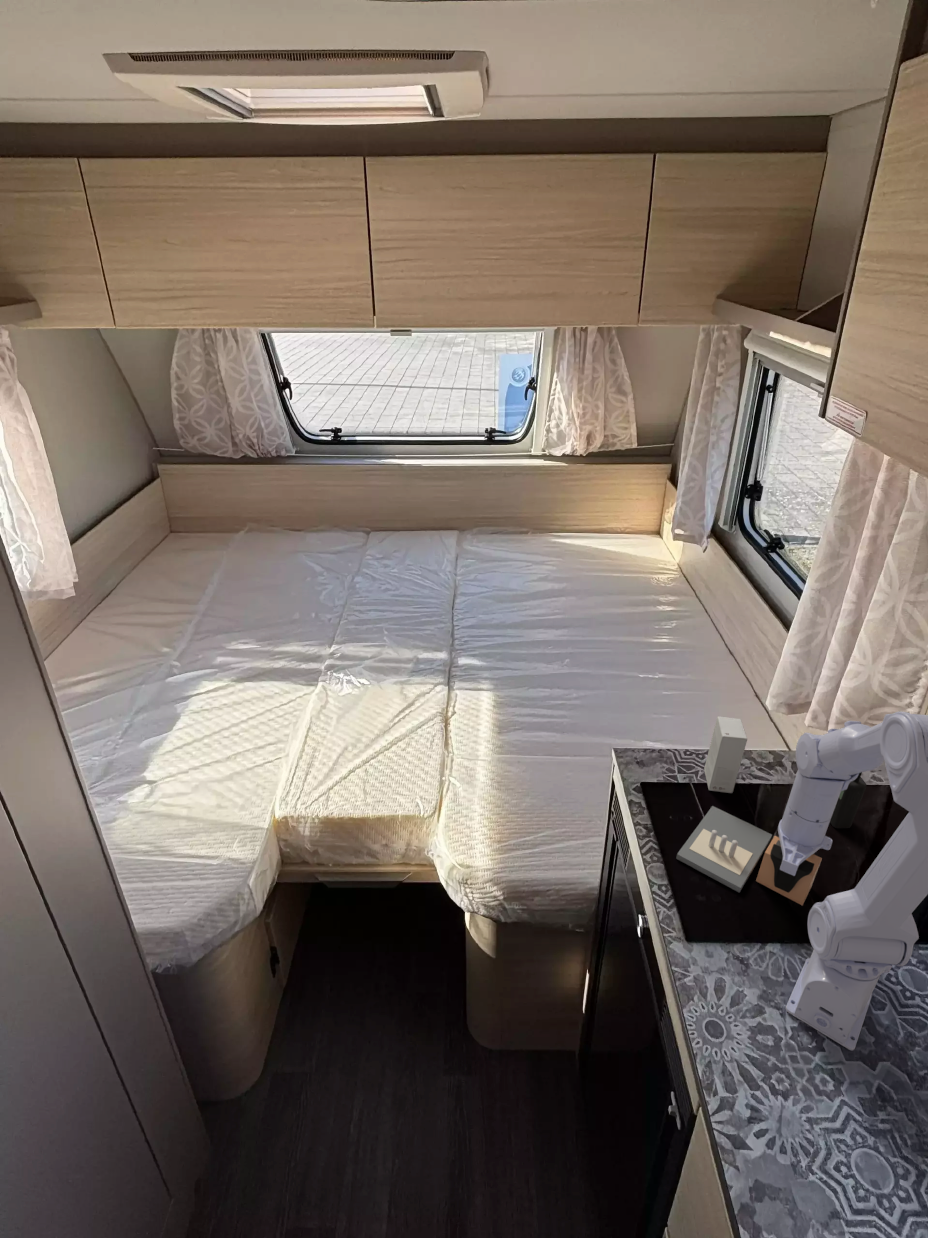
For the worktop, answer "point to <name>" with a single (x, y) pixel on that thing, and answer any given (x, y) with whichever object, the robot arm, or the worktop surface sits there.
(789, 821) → the robot arm
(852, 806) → the walkie-talkie
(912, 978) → the worktop surface
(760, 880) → the plug housing
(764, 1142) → the worktop surface
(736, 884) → the board
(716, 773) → the skincare box
